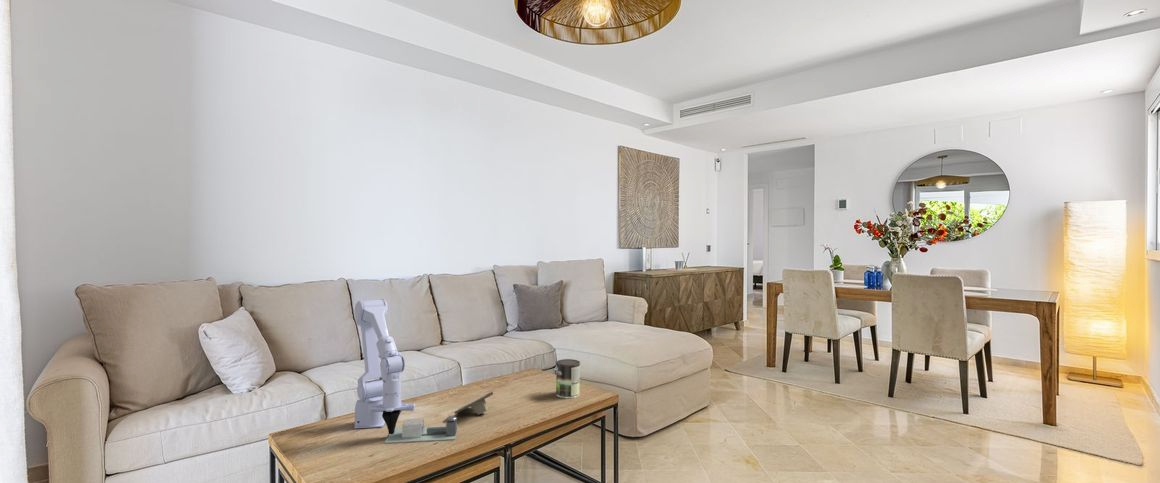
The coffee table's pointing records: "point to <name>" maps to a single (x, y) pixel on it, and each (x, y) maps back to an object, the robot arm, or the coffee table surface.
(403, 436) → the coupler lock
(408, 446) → the coffee table surface
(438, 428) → the coupler
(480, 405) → the grey slanted panel
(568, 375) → the coffee can
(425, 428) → the mat
